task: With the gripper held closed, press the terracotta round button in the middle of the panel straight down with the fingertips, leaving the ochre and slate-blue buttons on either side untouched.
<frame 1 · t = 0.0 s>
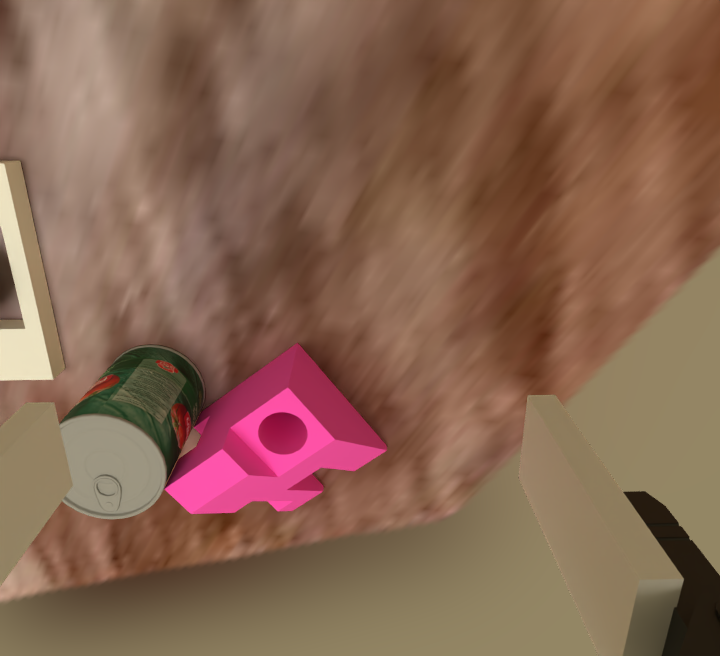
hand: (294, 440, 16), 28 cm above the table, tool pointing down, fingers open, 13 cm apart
bracket: (295, 426, 49), on the table
canned tomato: (157, 387, 47), on the table
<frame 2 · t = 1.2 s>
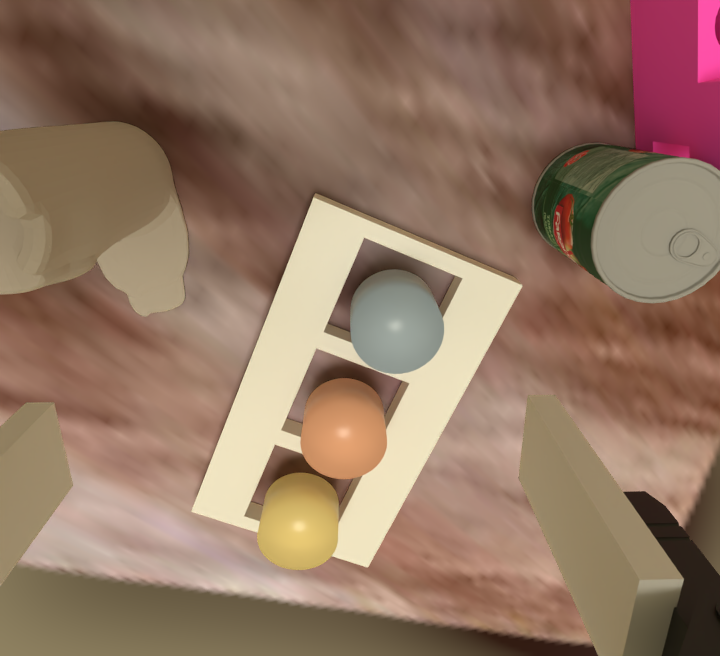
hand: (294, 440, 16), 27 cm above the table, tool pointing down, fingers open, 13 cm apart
canned tomato: (585, 199, 41), on the table
slate-blue button: (395, 320, 39), point 5 cm above the table, slide at 0.0 cm
terracotta button: (344, 427, 42), point 5 cm above the table, slide at 0.0 cm
panel: (344, 394, 46), on the table
ochre button: (299, 520, 45), point 5 cm above the table, slide at 0.0 cm
beige tall tapered piece: (136, 223, 41), on the table
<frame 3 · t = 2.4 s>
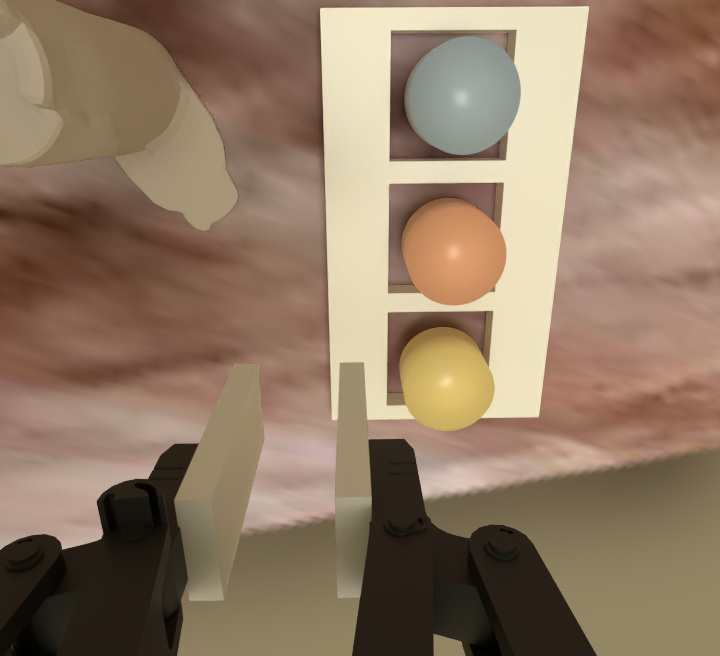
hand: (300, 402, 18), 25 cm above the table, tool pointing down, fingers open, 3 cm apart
slate-blue button: (459, 97, 33), point 5 cm above the table, slide at 0.0 cm
terracotta button: (451, 250, 36), point 5 cm above the table, slide at 0.0 cm
panel: (439, 233, 41), on the table
ochre button: (444, 377, 40), point 5 cm above the table, slide at 0.0 cm
beige tall tapered piece: (160, 132, 38), on the table
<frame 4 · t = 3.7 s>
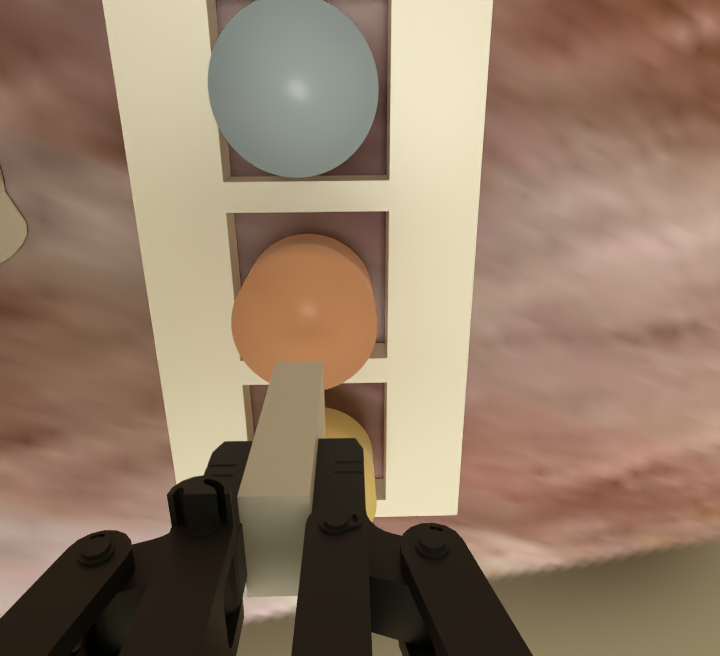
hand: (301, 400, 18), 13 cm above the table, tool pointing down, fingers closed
slate-blue button: (297, 91, 22), point 5 cm above the table, slide at 0.0 cm
terracotta button: (307, 310, 25), point 5 cm above the table, slide at 0.0 cm
panel: (313, 277, 30), on the table
ochre button: (314, 478, 29), point 5 cm above the table, slide at 0.0 cm
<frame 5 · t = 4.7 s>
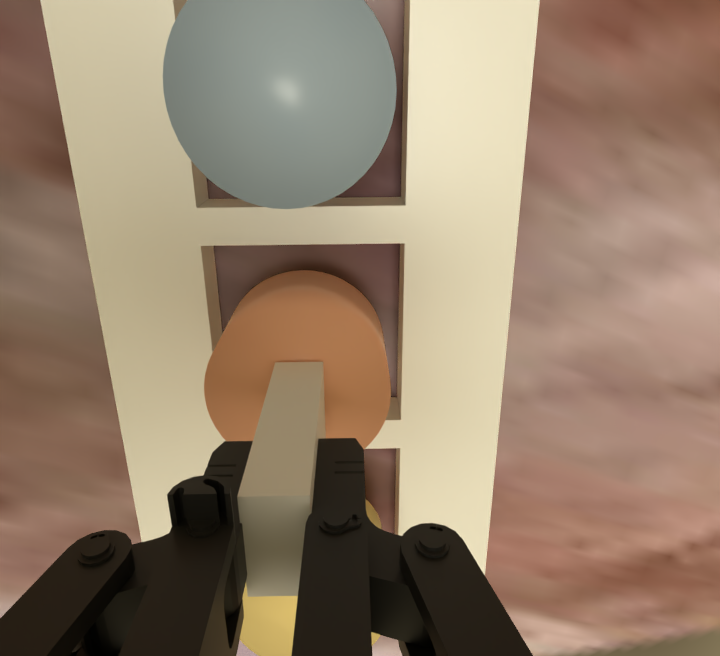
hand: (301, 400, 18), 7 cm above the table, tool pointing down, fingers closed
slate-blue button: (287, 93, 17), point 5 cm above the table, slide at 0.0 cm
terracotta button: (302, 367, 20), point 5 cm above the table, slide at 0.4 cm, touching gripper
panel: (310, 320, 25), on the table
ochre button: (311, 571, 23), point 5 cm above the table, slide at 0.0 cm
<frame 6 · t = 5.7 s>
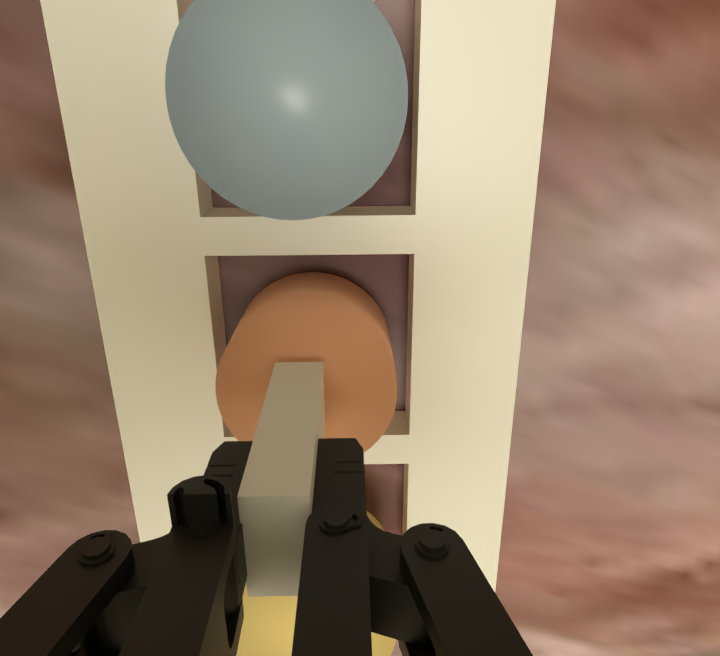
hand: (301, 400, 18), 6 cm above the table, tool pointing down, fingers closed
slate-blue button: (294, 99, 16), point 5 cm above the table, slide at 0.0 cm
terracotta button: (310, 367, 21), point 3 cm above the table, slide at 1.5 cm
panel: (316, 331, 24), on the table
ochre button: (317, 590, 23), point 5 cm above the table, slide at 0.0 cm
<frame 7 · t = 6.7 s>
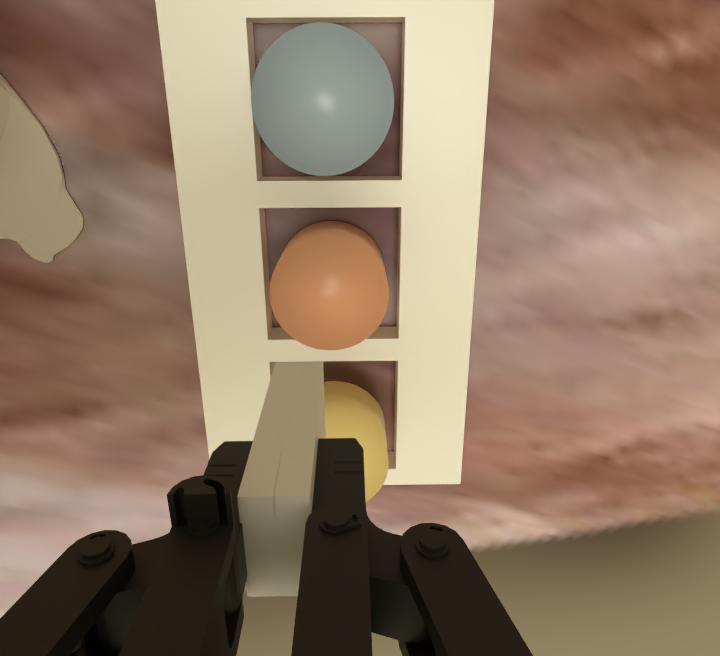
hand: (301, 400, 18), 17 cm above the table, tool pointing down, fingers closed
slate-blue button: (324, 102, 26), point 5 cm above the table, slide at 0.0 cm
terracotta button: (330, 283, 31), point 3 cm above the table, slide at 1.5 cm
panel: (332, 266, 34), on the table
ochre button: (333, 444, 32), point 5 cm above the table, slide at 0.0 cm
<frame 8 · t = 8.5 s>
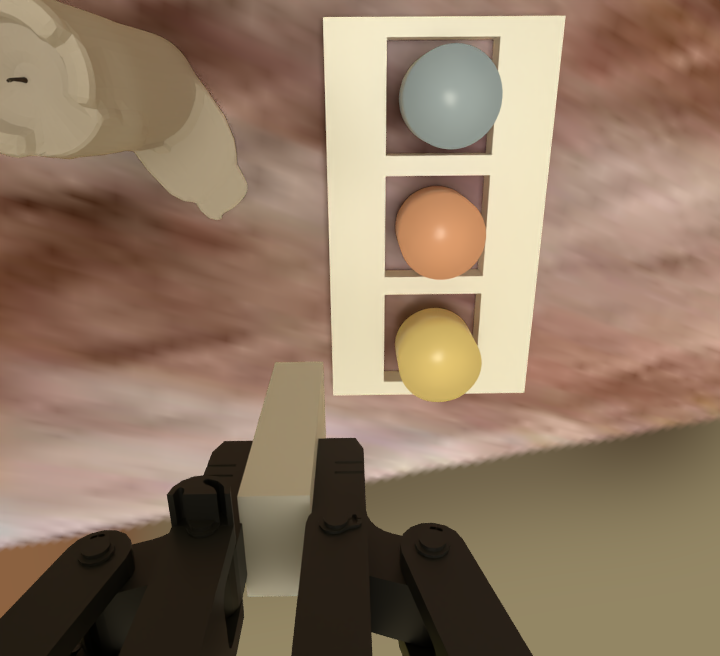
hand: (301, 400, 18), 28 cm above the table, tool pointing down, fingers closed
slate-blue button: (448, 98, 37), point 5 cm above the table, slide at 0.0 cm
terracotta button: (438, 231, 42), point 3 cm above the table, slide at 1.5 cm
panel: (432, 222, 45), on the table
ochre button: (436, 354, 43), point 5 cm above the table, slide at 0.0 cm
beige tall tapered piece: (177, 129, 42), on the table
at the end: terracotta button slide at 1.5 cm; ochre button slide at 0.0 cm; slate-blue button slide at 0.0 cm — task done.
